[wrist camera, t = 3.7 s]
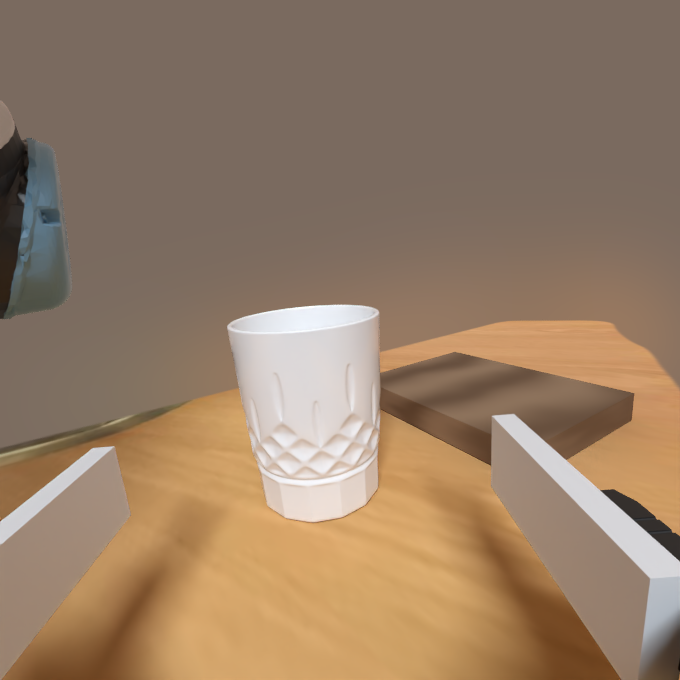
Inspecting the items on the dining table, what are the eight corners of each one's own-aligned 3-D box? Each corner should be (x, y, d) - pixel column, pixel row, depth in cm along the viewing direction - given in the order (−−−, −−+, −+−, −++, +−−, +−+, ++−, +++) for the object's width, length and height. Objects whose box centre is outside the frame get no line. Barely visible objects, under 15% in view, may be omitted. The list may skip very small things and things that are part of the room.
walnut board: (362, 399, 34) (360, 378, 33) (455, 370, 40) (454, 352, 39) (526, 483, 20) (528, 450, 20) (631, 420, 26) (634, 393, 26)
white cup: (245, 468, 24) (221, 316, 22) (356, 439, 27) (345, 300, 25) (267, 554, 17) (235, 341, 15) (416, 502, 20) (408, 315, 17)
